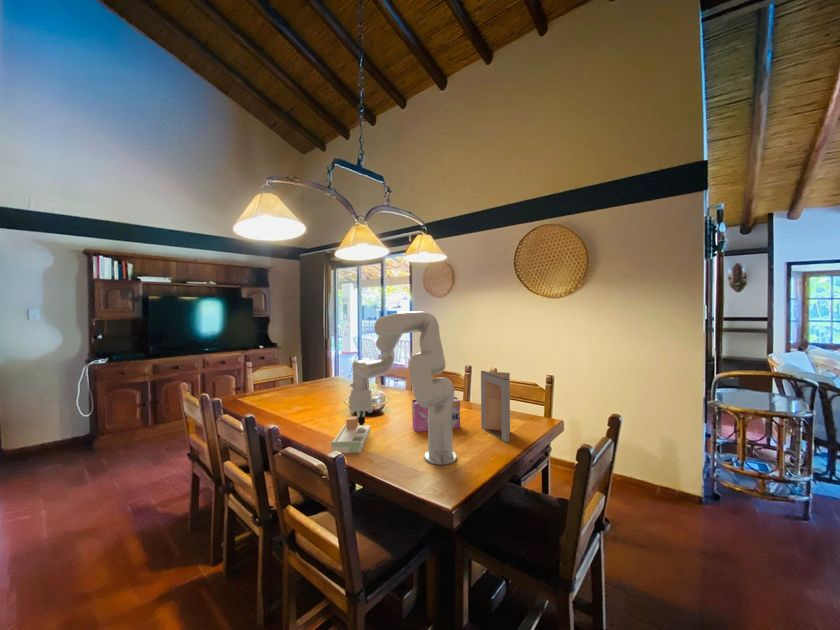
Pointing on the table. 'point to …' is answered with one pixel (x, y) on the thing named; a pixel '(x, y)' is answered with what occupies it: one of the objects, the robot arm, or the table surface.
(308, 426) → the table surface
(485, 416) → the cabinet
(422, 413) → the gum box
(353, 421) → the block
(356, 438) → the tray
